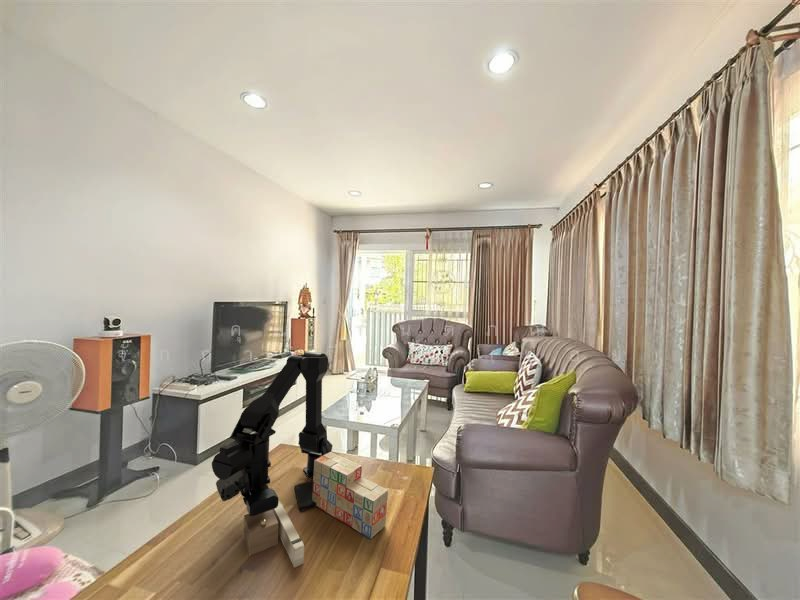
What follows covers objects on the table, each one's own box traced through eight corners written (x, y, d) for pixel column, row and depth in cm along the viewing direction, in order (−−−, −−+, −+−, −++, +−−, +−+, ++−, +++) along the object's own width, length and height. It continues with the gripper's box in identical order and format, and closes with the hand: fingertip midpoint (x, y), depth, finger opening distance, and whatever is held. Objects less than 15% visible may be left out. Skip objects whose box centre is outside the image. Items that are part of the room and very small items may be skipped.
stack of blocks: (386, 525, 81) (389, 477, 81) (370, 540, 75) (374, 489, 75) (328, 492, 93) (330, 450, 93) (311, 503, 87) (313, 458, 87)
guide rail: (264, 505, 86) (265, 490, 86) (272, 502, 88) (272, 487, 88) (294, 568, 67) (294, 548, 67) (303, 563, 69) (304, 544, 69)
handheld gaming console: (287, 485, 93) (308, 455, 95) (305, 491, 97) (326, 462, 99) (298, 513, 84) (322, 479, 86) (318, 519, 87) (341, 486, 90)
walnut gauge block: (243, 535, 76) (244, 510, 75) (269, 525, 79) (270, 501, 79) (249, 555, 70) (250, 528, 70) (277, 543, 74) (278, 517, 73)
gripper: (214, 450, 81) (212, 510, 81) (225, 487, 66) (223, 560, 67) (260, 439, 88) (258, 495, 88) (280, 471, 73) (277, 538, 73)
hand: (254, 519), depth 79 cm, fingers closed
